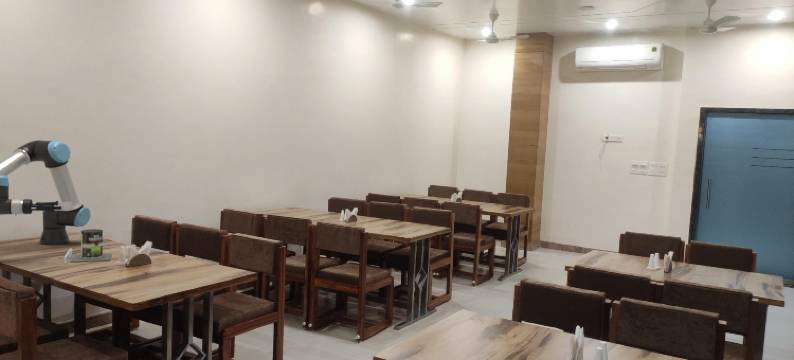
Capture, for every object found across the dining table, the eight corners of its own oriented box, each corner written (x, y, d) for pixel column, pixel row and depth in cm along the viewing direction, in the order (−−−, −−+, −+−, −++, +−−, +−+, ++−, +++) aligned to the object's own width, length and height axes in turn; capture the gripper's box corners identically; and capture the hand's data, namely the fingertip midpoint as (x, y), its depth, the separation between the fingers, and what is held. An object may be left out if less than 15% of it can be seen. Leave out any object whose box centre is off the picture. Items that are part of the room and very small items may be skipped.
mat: (74, 255, 312) (74, 254, 312) (111, 254, 319) (111, 253, 319) (70, 262, 295) (70, 261, 295) (109, 260, 302) (109, 259, 302)
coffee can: (106, 257, 308) (106, 230, 307) (86, 259, 300) (86, 232, 299) (97, 254, 314) (97, 228, 313) (77, 257, 306) (77, 230, 305)
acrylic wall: (70, 254, 314) (70, 248, 313) (72, 254, 314) (72, 248, 314) (64, 264, 292) (64, 257, 291) (66, 264, 292) (66, 257, 292)
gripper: (27, 210, 305) (73, 210, 313) (17, 217, 282) (67, 216, 290) (27, 196, 304) (73, 196, 313) (17, 202, 281) (67, 201, 290)
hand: (70, 206), depth 301 cm, fingers open, 13 cm apart
